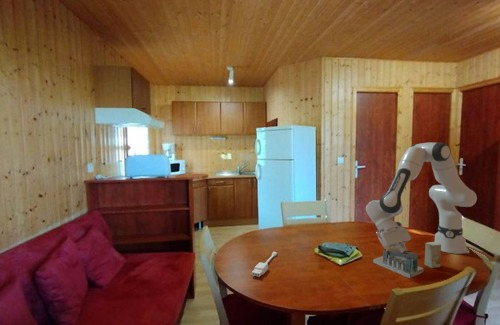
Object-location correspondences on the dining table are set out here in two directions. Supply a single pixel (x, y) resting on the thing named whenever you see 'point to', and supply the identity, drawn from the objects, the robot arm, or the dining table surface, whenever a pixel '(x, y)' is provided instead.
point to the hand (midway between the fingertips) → (404, 251)
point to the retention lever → (402, 254)
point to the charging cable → (262, 267)
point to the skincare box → (432, 254)
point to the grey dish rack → (399, 264)
